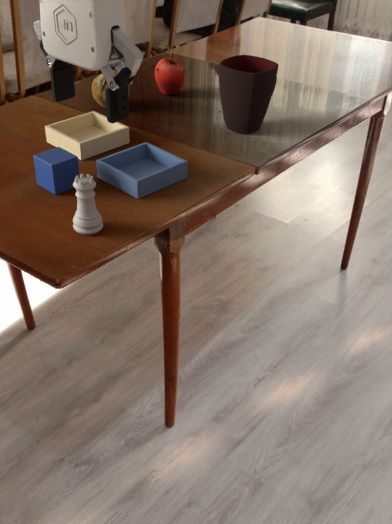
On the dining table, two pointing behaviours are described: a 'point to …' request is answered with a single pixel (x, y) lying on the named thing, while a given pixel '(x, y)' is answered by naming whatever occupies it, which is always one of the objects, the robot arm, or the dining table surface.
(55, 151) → the blue block
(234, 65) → the cup
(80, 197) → the rook chess piece
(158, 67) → the apple
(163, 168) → the blue tray
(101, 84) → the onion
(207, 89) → the dining table surface
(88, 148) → the ivory tray
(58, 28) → the robot arm
